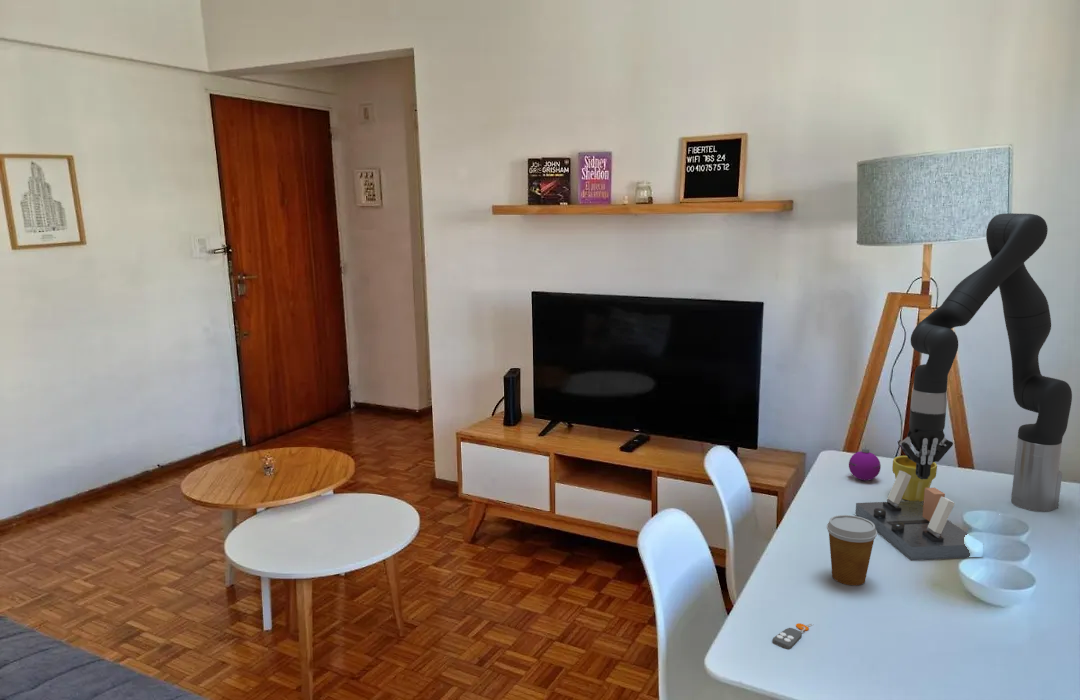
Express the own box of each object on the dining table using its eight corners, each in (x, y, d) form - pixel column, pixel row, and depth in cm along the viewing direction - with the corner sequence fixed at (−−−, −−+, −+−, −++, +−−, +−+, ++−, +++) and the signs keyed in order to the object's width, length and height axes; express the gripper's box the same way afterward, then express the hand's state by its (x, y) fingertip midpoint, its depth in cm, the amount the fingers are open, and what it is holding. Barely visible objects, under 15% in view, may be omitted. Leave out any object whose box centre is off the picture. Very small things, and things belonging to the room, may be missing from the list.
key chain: (790, 653, 127) (791, 645, 127) (770, 644, 130) (770, 637, 130) (823, 623, 136) (824, 616, 136) (804, 616, 139) (804, 608, 139)
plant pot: (942, 504, 189) (945, 468, 187) (901, 505, 189) (904, 468, 188) (922, 490, 199) (925, 455, 198) (883, 490, 199) (886, 455, 198)
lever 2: (930, 531, 165) (945, 497, 164) (940, 538, 161) (956, 503, 160) (924, 529, 165) (939, 495, 163) (934, 536, 161) (950, 501, 160)
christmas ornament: (848, 473, 213) (850, 439, 211) (879, 476, 210) (881, 442, 208) (847, 482, 206) (849, 448, 204) (879, 486, 202) (882, 451, 201)
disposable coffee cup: (871, 571, 155) (875, 517, 153) (875, 592, 146) (880, 535, 144) (823, 564, 158) (826, 511, 156) (824, 585, 149) (827, 529, 147)
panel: (917, 511, 185) (918, 494, 184) (982, 557, 160) (984, 537, 159) (855, 514, 184) (856, 497, 183) (911, 560, 159) (912, 540, 158)
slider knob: (932, 516, 174) (934, 487, 172) (942, 523, 170) (945, 493, 168) (922, 516, 173) (924, 487, 172) (932, 523, 170) (934, 494, 168)
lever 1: (890, 502, 182) (903, 471, 180) (898, 508, 178) (912, 476, 177) (884, 500, 181) (898, 469, 180) (893, 506, 178) (907, 474, 176)
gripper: (945, 404, 180) (939, 472, 183) (892, 405, 179) (887, 473, 182) (964, 412, 172) (958, 482, 175) (910, 413, 172) (904, 484, 175)
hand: (922, 478), depth 179 cm, fingers closed
